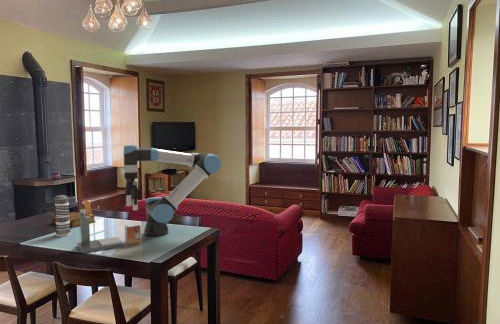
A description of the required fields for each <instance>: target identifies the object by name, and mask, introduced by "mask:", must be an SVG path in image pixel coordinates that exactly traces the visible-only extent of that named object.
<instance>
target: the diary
mask: <svg viewBox="0 0 500 324" xmlns="http://www.w3.org/2000/svg"><path fill="white" fill-rule="evenodd" d="M79 213H80V211H73V212H72V211H70V212H69V214H70V216H69V220H70V228H72V229H74V228H79V227H80V218H79ZM95 217H96V214H92V213H91V216H90V218H89V225H90V224H93V223H97V222H96V221H95ZM51 223H52V224H53V225H56V218H55V215H53V216H52V217H51Z"/></svg>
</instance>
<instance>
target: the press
mask: <svg viewBox="0 0 500 324" xmlns="http://www.w3.org/2000/svg"><path fill="white" fill-rule="evenodd" d="M79 218H80V226H79V227H80V241H79V242H76V245H77V248H78V251H79V252H80V253H81V254H86V252H88V253H92V252H91V251H94V252H98V251H97V250H100V251H103V250H102V249H106V250H110V249H109V248H112V249H117V248H116V247H118V248H123V247H124V242H123V241H122V240H121V239H120V238H119V236H114V237H113V236H112V237H108V238H107V237H106V238H100V239H99V238H98V239H93V240H90V239H91V238H90V236H91V235H90V234H91V233H90V224H89V218H86V217H85V216H84V215H83V214H80V213H79ZM122 246H123V247H122Z"/></svg>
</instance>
